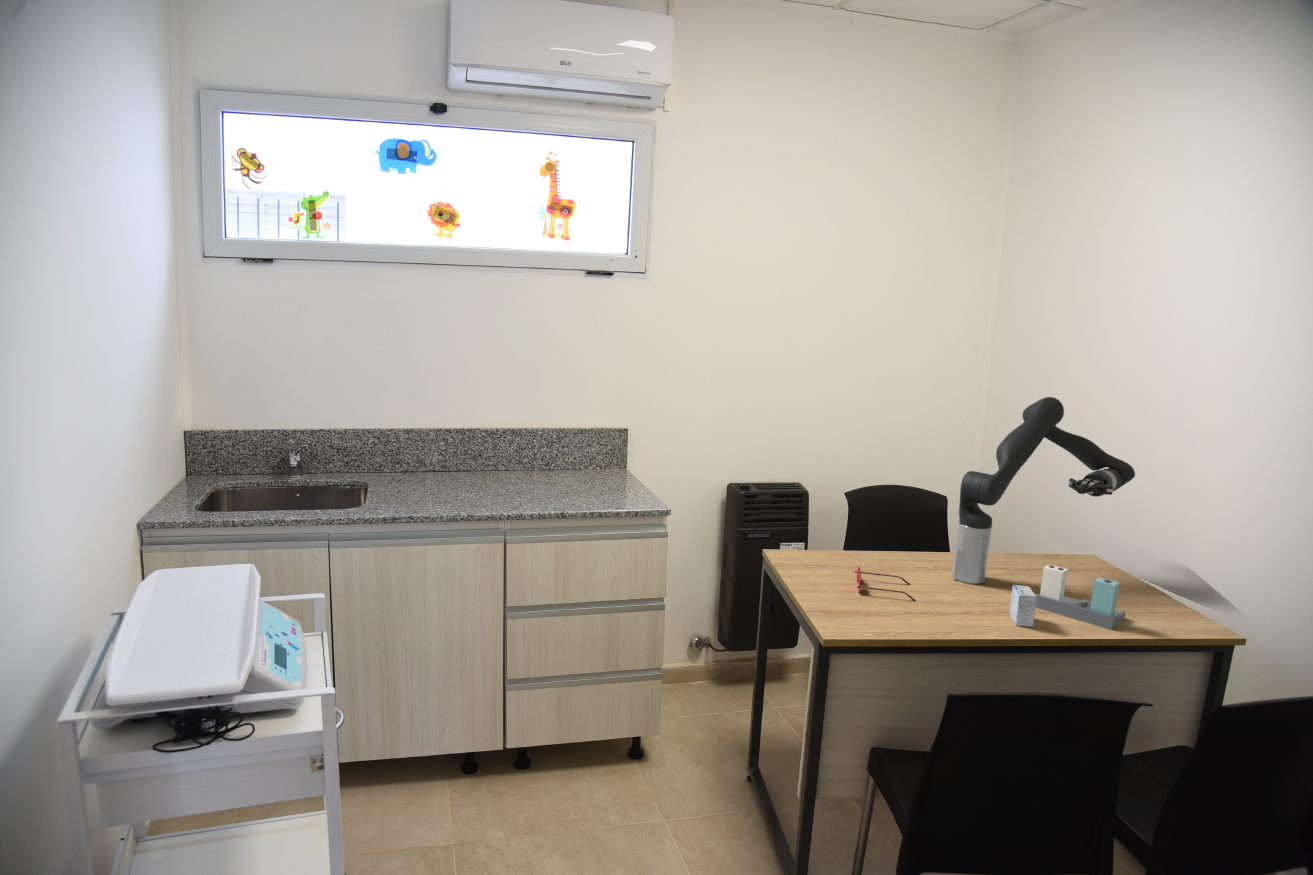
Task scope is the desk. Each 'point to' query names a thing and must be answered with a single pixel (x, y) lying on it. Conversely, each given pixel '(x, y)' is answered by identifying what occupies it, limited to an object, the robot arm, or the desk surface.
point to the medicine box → (1022, 606)
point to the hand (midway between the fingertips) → (1080, 490)
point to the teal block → (1104, 596)
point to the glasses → (876, 588)
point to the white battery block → (1053, 582)
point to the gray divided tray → (1079, 611)
